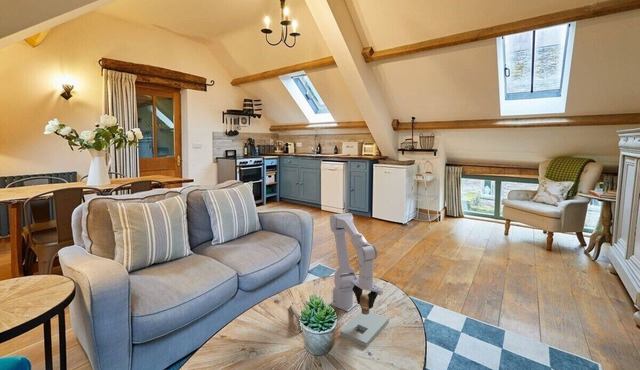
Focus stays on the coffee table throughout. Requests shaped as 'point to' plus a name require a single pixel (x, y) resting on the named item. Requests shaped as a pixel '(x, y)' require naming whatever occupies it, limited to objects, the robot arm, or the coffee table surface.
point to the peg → (364, 304)
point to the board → (364, 328)
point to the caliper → (296, 316)
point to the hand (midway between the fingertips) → (365, 305)
